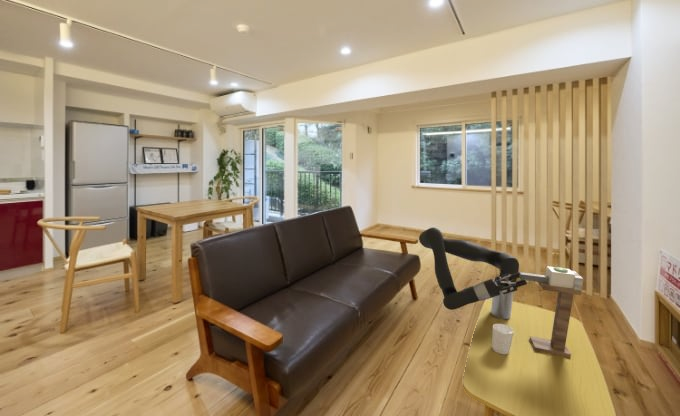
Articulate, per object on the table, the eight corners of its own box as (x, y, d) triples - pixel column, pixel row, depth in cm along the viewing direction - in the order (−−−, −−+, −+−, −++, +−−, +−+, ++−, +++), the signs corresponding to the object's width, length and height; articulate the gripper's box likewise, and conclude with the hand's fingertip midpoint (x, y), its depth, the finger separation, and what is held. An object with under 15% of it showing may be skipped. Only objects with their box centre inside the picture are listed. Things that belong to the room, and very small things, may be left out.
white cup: (490, 351, 129) (492, 330, 127) (490, 342, 136) (493, 321, 134) (511, 357, 125) (514, 335, 124) (510, 347, 132) (513, 326, 131)
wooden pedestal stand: (529, 338, 139) (539, 266, 133) (562, 345, 135) (574, 270, 129) (534, 350, 130) (545, 274, 124) (570, 357, 126) (583, 278, 120)
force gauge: (517, 275, 135) (519, 261, 134) (566, 282, 129) (568, 267, 128) (521, 281, 129) (523, 267, 128) (573, 288, 123) (575, 273, 122)
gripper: (484, 288, 131) (523, 276, 125) (480, 276, 144) (516, 264, 138) (492, 304, 131) (532, 292, 125) (488, 290, 144) (523, 279, 138)
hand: (523, 277), depth 131 cm, fingers open, 8 cm apart
